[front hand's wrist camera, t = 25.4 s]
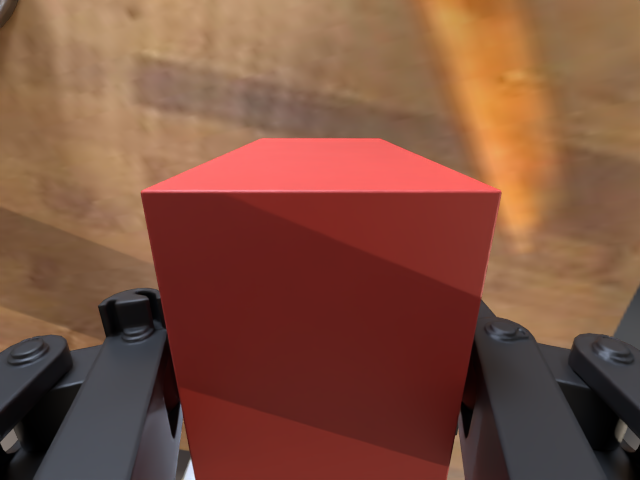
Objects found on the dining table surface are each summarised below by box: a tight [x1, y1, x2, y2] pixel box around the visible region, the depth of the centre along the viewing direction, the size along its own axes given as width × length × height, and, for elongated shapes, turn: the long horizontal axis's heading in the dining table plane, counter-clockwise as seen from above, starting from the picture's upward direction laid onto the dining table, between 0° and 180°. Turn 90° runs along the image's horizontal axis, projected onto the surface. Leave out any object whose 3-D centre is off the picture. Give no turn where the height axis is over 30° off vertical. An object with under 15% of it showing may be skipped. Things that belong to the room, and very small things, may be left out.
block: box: [141, 138, 501, 480], centre depth 11 cm, size 5×9×10 cm, turn 0°
